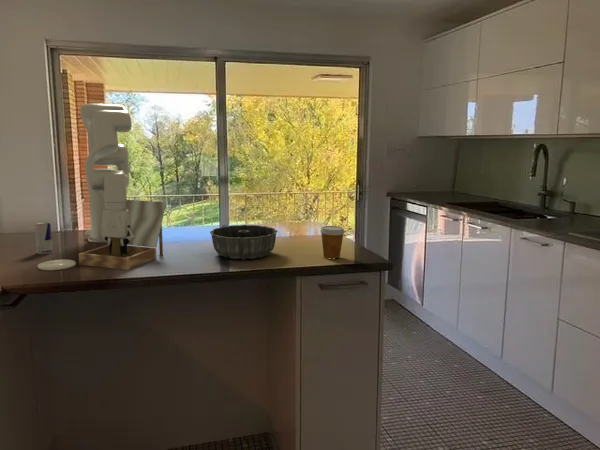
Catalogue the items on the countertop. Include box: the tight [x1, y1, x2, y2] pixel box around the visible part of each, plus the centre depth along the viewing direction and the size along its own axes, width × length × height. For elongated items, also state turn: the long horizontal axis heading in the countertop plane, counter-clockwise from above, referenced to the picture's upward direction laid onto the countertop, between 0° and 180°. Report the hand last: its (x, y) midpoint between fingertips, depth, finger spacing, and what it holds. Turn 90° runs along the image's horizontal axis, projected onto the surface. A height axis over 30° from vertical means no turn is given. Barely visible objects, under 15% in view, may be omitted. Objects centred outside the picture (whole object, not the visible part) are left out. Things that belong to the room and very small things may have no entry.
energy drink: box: [34, 221, 53, 255], centre depth 189 cm, size 5×5×12 cm
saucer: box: [37, 259, 76, 271], centre depth 171 cm, size 12×12×1 cm
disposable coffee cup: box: [320, 225, 345, 260], centre depth 190 cm, size 10×10×12 cm
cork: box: [111, 238, 128, 258], centre depth 178 cm, size 6×6×11 cm
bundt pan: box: [209, 224, 278, 261], centre depth 192 cm, size 26×26×10 cm
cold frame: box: [78, 199, 167, 271], centre depth 181 cm, size 20×25×21 cm
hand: (118, 254), depth 179 cm, fingers closed on cork, 3 cm apart
